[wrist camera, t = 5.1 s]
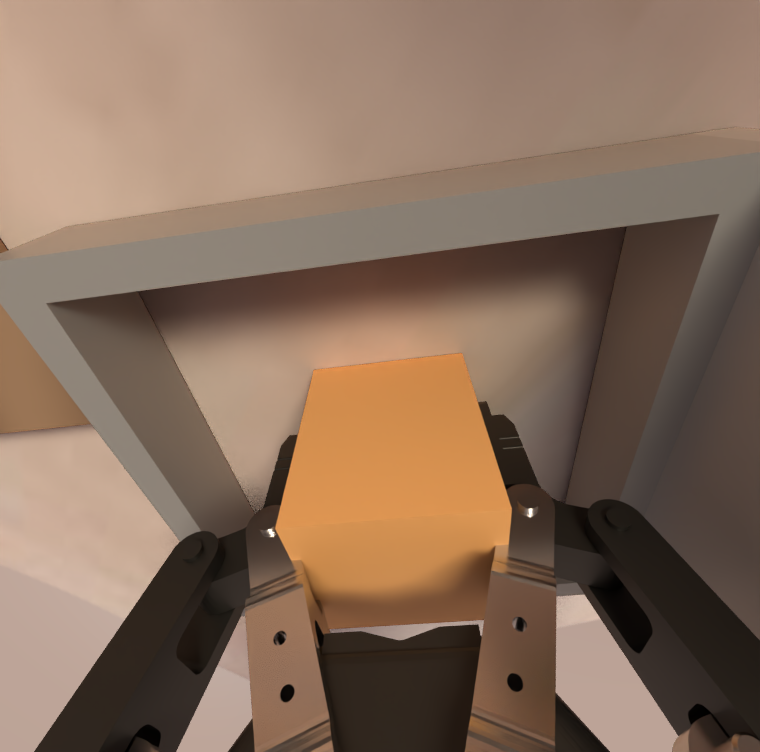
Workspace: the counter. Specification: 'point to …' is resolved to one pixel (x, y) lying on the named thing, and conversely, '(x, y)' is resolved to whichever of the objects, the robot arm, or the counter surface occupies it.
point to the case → (445, 232)
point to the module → (395, 494)
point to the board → (30, 385)
